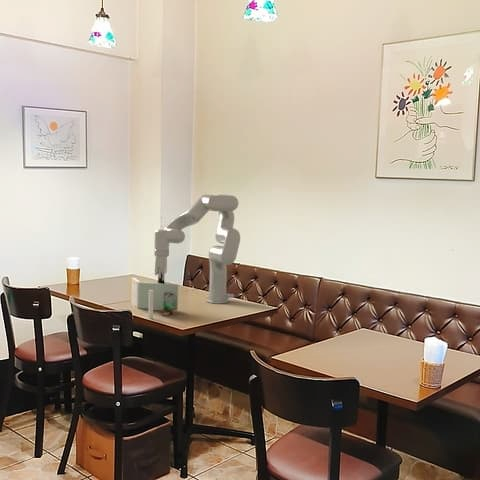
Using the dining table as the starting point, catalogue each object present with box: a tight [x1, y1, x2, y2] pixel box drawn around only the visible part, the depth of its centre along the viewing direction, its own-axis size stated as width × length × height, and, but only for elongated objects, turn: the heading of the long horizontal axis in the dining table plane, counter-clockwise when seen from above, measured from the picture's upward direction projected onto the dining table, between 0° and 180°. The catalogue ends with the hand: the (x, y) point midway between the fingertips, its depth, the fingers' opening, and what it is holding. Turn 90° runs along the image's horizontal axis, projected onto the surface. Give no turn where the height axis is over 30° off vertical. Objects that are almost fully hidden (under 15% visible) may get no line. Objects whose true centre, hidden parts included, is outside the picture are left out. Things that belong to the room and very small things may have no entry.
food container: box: [162, 292, 176, 317], centre depth 301 cm, size 12×6×10 cm, turn 5°
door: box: [139, 281, 179, 312], centre depth 308 cm, size 3×20×14 cm, turn 79°
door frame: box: [131, 277, 154, 320], centre depth 305 cm, size 2×36×14 cm, turn 24°
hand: (161, 287), depth 310 cm, fingers closed
